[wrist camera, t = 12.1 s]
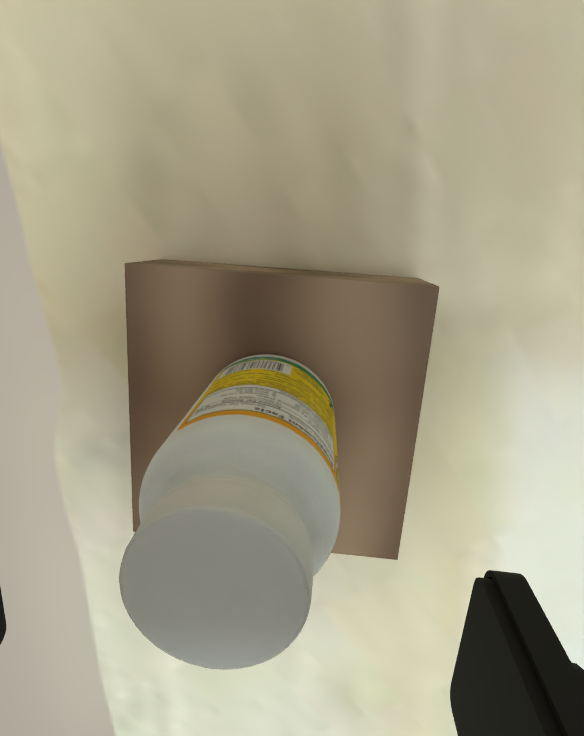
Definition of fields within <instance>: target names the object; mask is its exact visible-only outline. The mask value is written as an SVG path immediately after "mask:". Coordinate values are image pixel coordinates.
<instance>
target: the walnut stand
mask: <svg viewBox="0 0 584 736" xmlns="http://www.w3.org/2000/svg"><path fill="white" fill-rule="evenodd" d="M125 287H126V319H127V350H128V382H129V413H130V445H131V477H132V508H133V532H136V531H137V529H138V527H139V526H140V523H141V522H140V516H139V496H140V489H141V485H142V481H143V478H144V475H145V472H146V470H147V468H148V466H149V464H150V462H151V460H152V458H153V457H154V455H155V454H156V452H157V451H158V450H159V448H160V447H161V446H162V445H163V443H164V442H165V441H166V440H167V438H168V437H169V436H170V434H171V433H172V432H173V431H174V429H175V428H176V427H177V426H178V424H179V423H180V422H181V421H182V419H183V418H184V417H185V416H186V414H187V413H188V412H189V410H190V409H191V408H192V406H193V405H194V404H195V402H196V401H197V400H198V399H199V397H200V396H201V395H202V393H203V392H204V391H205V390H206V388H207V387H208V386H209V384H210V383H211V382H212V380H213V379H214V378H215V377H216V376H217V375H218V374H219V373H220V372H221V371H222V370H223V369H224V368H225V367H227V366H228V365H230V364H232V363H233V362H235V361H237V360H240V359H242V358H245V357H248V356H253V355H261V354H271V355H278V356H284V357H287V358H290V359H293V360H295V361H297V362H299V363H301V364H303V365H304V366H306V367H307V368H309V369H310V370H311V371H312V372H313V373H315V374H316V375H317V376H318V377H319V379H320V380H321V381H322V382H323V383H324V385H325V387H326V388H327V390H328V392H329V394H330V396H331V399H332V402H333V407H334V414H335V426H336V438H337V458H338V475H339V488H340V509H341V513H340V524H339V530H338V534H337V538H336V541H335V544H334V546H333V549H332V551H331V553H339V554H348V555H357V556H366V557H376V558H385V559H394V560H397V559H398V553H399V546H400V540H401V533H402V527H403V520H404V514H405V507H406V501H407V494H408V488H409V481H410V475H411V468H412V462H413V455H414V449H415V442H416V436H417V429H418V423H419V416H420V410H421V403H422V397H423V390H424V384H425V377H426V371H427V364H428V358H429V351H430V345H431V338H432V332H433V325H434V319H435V312H436V306H437V299H438V293H439V287H438V286H436V285H434V284H431V283H429V282H426V281H424V280H421V279H419V278H405V277H392V276H378V275H365V274H351V273H337V272H324V271H310V270H297V269H283V268H270V267H256V266H243V265H229V264H216V263H202V262H188V261H175V260H152V261H143V262H133V263H125Z"/></svg>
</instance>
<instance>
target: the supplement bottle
mask: <svg viewBox="0 0 584 736" xmlns="http://www.w3.org/2000/svg"><path fill="white" fill-rule="evenodd" d="M340 513H341V509H340V488H339V475H338V458H337V438H336V426H335V414H334V407H333V402H332V399H331V396H330V394H329V392H328V390H327V388H326V387H325V385H324V383H323V382H322V381H321V380H320V379H319V377H318V376H317V375H316V374H315V373H313V372H312V371H311V370H310V369H309V368H307V367H306V366H304V365H303V364H301V363H299V362H297V361H295V360H293V359H290V358H287V357H284V356H278V355H271V354H261V355H253V356H248V357H245V358H242V359H240V360H237V361H235V362H233V363H232V364H230V365H228V366H227V367H225V368H224V369H223V370H222V371H221V372H220V373H219V374H218V375H217V376H216V377H215V378H214V379H213V380H212V382H211V383H210V384H209V386H208V387H207V388H206V390H205V391H204V392H203V393H202V395H201V396H200V397H199V399H198V400H197V401H196V402H195V404H194V405H193V406H192V408H191V409H190V410H189V412H188V413H187V414H186V416H185V417H184V418H183V419H182V421H181V422H180V423H179V424H178V426H177V427H176V428H175V429H174V431H173V432H172V433H171V434H170V436H169V437H168V438H167V440H166V441H165V442H164V443H163V445H162V446H161V447H160V448H159V450H158V451H157V452H156V454H155V455H154V457H153V458H152V460H151V462H150V464H149V466H148V468H147V470H146V472H145V475H144V478H143V481H142V485H141V489H140V496H139V516H140V522H141V523H140V526H139V527H138V529H137V531H136V532H135V534H134V536H133V537H132V539H131V541H130V542H129V544H128V546H127V547H126V550H125V553H124V556H123V559H122V563H121V567H120V575H119V582H120V591H121V596H122V600H123V603H124V606H125V608H126V610H127V612H128V614H129V616H130V618H131V619H132V621H133V622H134V623H135V625H136V627H137V628H138V629H139V630H140V631H141V632H142V634H143V635H144V636H145V637H146V638H147V639H149V640H150V641H151V642H152V643H153V644H154V645H155V646H157V647H158V648H160V649H161V650H163V651H164V652H166V653H168V654H169V655H171V656H173V657H175V658H177V659H180V660H183V661H185V662H187V663H190V664H193V665H198V666H201V667H205V668H211V669H239V668H245V667H250V666H253V665H256V664H260V663H263V662H265V661H267V660H269V659H272V658H273V657H275V656H276V655H278V654H279V653H281V652H282V651H283V650H284V649H286V648H287V647H288V646H289V645H290V644H291V643H292V642H293V641H294V640H295V638H296V637H297V636H298V634H299V633H300V631H301V629H302V628H303V626H304V624H305V622H306V619H307V616H308V613H309V609H310V603H311V595H312V582H313V576H314V575H315V574H316V573H317V572H318V571H319V570H320V569H321V567H322V566H323V565H324V563H325V562H326V560H327V559H328V557H329V555H330V553H331V551H332V549H333V546H334V544H335V541H336V538H337V534H338V530H339V524H340Z"/></svg>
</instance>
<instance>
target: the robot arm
mask: <svg viewBox="0 0 584 736" xmlns="http://www.w3.org/2000/svg"><path fill="white" fill-rule="evenodd" d="M5 632H6V620H5V614H4V608H3V601H2V595H1V588H0V644H1V642H2V640H3V638H4V635H5ZM450 700H451V708H452V713H453V717H454V721H455V725H456V729H457V733H458V736H584V670H583V669H582V668H581V667H580V666H579V665H577V664H575V663H571V661H570V659H569V658H568V656H567V654H566V652H565V650H564V648H563V647H562V645H561V643H560V641H559V639H558V637H557V635H556V634H555V632H554V630H553V628H552V626H551V624H550V622H549V621H548V619H547V617H546V615H545V613H544V611H543V610H542V608H541V606H540V604H539V602H538V600H537V598H536V597H535V595H534V593H533V591H532V589H531V587H530V586H529V584H528V582H527V580H526V579H525V577H524V576H523V575H521V574H518V573H509V572H500V571H492V570H489V571H487V572H486V573H485V576H484V578H476V579H475V582H474V585H473V590H472V594H471V598H470V603H469V607H468V612H467V616H466V620H465V625H464V629H463V634H462V638H461V642H460V647H459V651H458V656H457V660H456V664H455V669H454V673H453V678H452V682H451V688H450Z"/></svg>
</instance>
